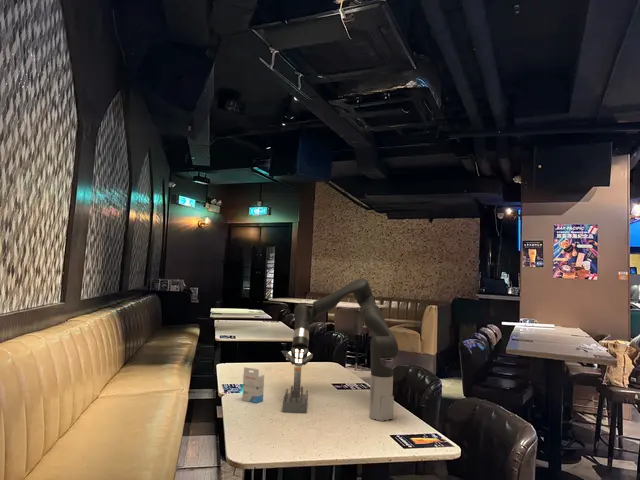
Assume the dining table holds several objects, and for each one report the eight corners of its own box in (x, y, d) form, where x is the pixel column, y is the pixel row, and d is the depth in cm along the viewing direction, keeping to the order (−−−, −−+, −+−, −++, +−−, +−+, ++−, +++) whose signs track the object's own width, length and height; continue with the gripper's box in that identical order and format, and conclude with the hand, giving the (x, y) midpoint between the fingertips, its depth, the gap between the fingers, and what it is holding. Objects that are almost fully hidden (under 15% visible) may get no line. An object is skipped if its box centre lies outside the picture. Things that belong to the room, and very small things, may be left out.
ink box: (263, 401, 209) (265, 367, 210) (257, 403, 204) (259, 369, 206) (248, 398, 213) (250, 365, 214) (241, 400, 208) (243, 367, 210)
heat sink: (285, 402, 208) (286, 382, 209) (307, 403, 208) (308, 383, 209) (282, 412, 193) (283, 390, 194) (306, 413, 193) (307, 391, 194)
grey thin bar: (293, 388, 207) (294, 365, 206) (300, 389, 207) (301, 366, 206) (293, 390, 206) (294, 366, 205) (300, 390, 206) (301, 367, 205)
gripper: (314, 345, 222) (312, 377, 209) (287, 344, 223) (283, 375, 210) (314, 336, 217) (312, 367, 204) (286, 334, 218) (282, 366, 205)
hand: (297, 371), depth 207 cm, fingers closed
